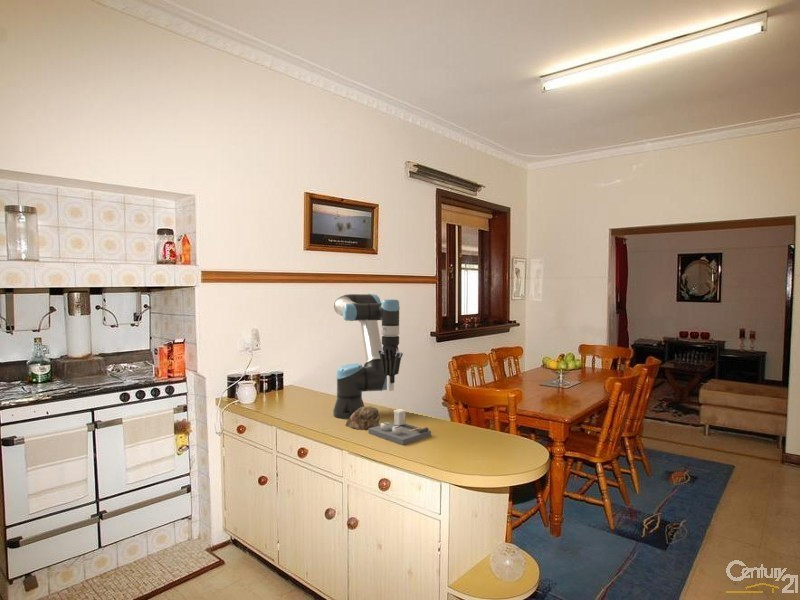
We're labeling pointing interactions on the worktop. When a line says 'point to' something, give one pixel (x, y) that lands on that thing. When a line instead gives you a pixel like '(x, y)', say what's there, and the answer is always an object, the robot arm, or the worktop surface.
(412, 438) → the console
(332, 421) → the worktop surface
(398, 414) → the fader tab
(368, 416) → the rock
